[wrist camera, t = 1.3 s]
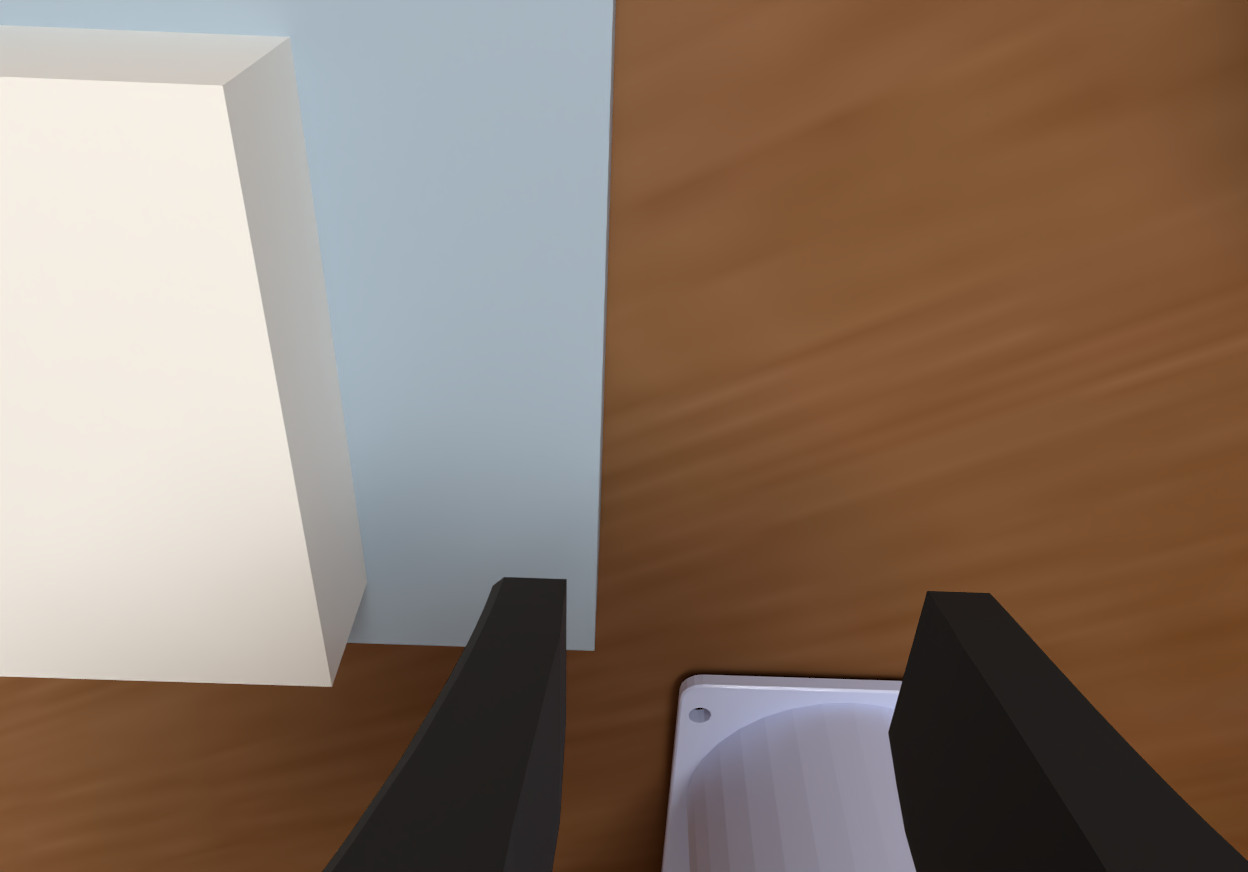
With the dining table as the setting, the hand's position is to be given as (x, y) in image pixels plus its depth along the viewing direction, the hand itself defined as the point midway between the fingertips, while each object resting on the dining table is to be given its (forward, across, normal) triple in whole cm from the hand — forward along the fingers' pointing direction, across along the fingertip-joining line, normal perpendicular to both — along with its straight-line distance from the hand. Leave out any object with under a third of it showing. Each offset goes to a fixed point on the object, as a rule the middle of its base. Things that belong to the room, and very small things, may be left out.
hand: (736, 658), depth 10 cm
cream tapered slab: (+5, +8, 0) cm, 10 cm away
